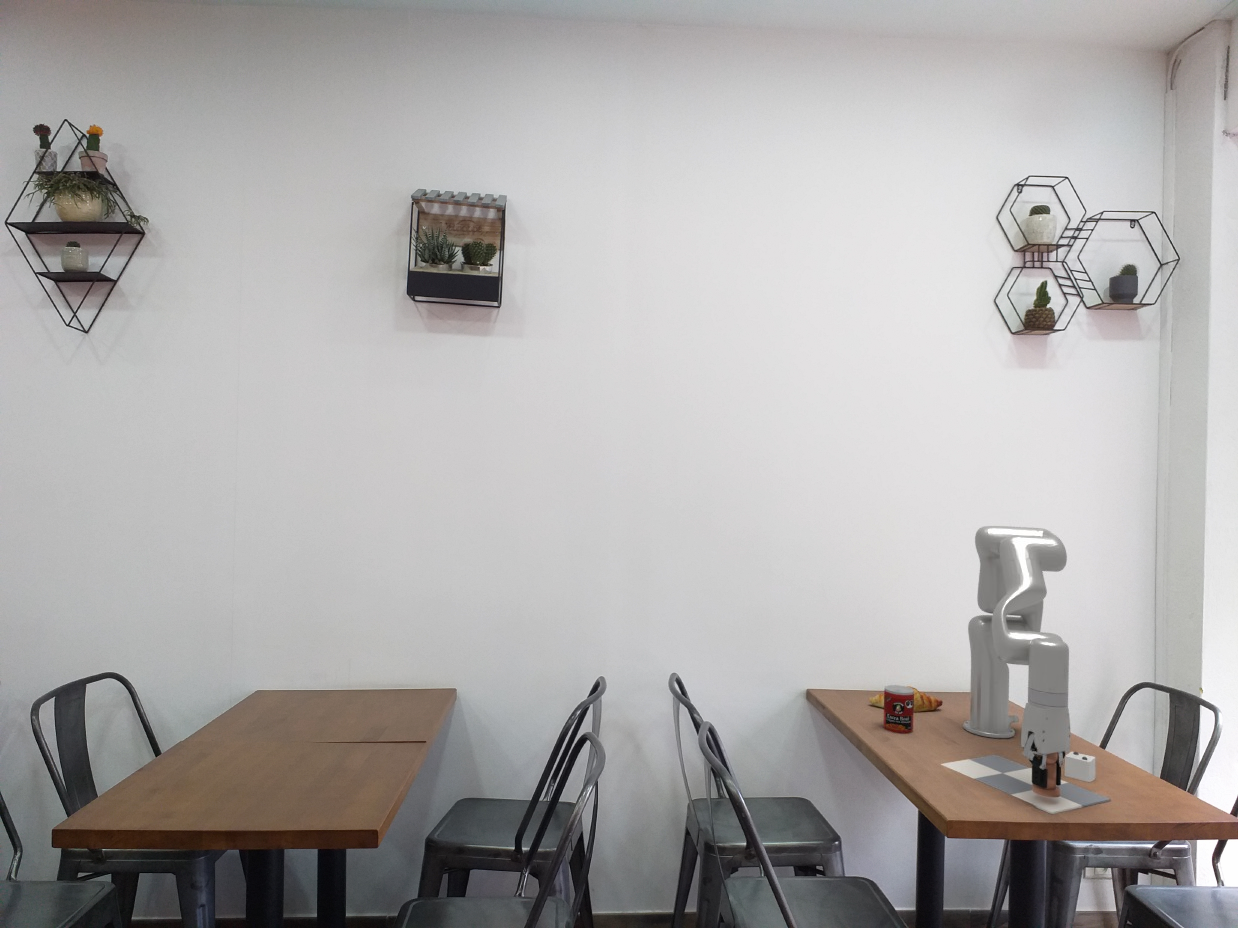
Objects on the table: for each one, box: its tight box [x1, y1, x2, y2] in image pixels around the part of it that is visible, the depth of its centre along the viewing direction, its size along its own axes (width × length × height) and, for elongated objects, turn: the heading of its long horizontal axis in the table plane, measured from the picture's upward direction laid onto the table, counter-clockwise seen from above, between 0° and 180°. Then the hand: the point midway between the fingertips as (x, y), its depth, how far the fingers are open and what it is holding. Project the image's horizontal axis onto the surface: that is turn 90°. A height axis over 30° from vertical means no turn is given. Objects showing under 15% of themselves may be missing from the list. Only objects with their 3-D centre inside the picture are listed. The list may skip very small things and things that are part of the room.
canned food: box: [883, 684, 915, 734], centre depth 210 cm, size 8×8×11 cm
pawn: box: [1032, 753, 1060, 798], centre depth 164 cm, size 5×5×10 cm
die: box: [1064, 750, 1096, 783], centre depth 178 cm, size 5×5×6 cm
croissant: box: [868, 685, 944, 713], centre depth 231 cm, size 21×10×8 cm, turn 85°
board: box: [939, 754, 1112, 815], centre depth 174 cm, size 19×28×1 cm, turn 25°
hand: (1046, 783), depth 164 cm, fingers closed on pawn, 3 cm apart
